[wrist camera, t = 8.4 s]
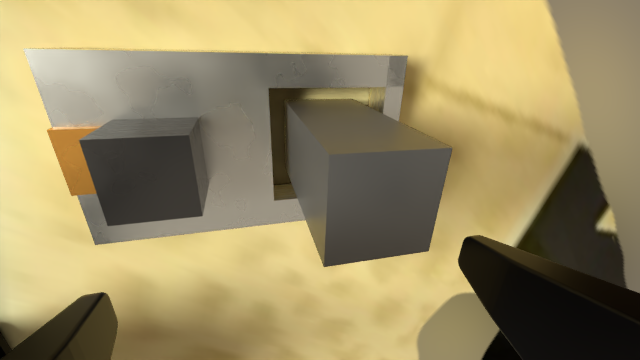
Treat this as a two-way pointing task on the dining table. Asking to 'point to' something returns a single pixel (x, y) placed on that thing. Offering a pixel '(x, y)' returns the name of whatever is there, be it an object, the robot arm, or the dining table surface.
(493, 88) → the dining table surface
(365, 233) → the plug
